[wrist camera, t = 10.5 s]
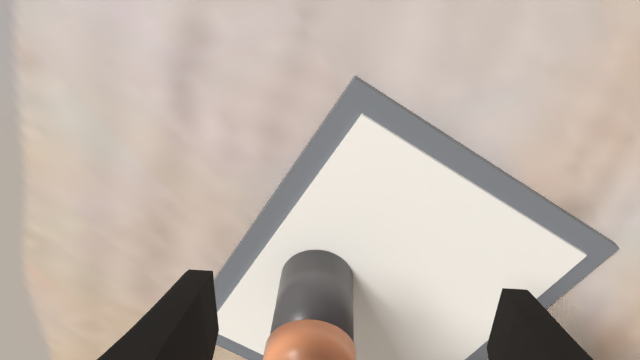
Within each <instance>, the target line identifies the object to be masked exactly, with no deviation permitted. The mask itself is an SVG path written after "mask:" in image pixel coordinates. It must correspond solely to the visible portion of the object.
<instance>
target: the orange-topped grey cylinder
mask: <svg viewBox="0 0 640 360" xmlns="http://www.w3.org/2000/svg"><path fill="white" fill-rule="evenodd" d="M263 360H356V347H355V345H354V312H353V273H352V270H351V268H350V266H349V265H348V263H347V262H346V261H345V260H344V259H342V258H341V257H340V256H338V255H336V254H334V253H332V252H329V251H325V250H307V251H303V252H300V253H297V254H295V255H294V256H292V257H291V258H290V259H289V260H288V261H287V262H286V263H285V265H284V267H283V269H282V273H281V278H280V283H279V289H278V294H277V300H276V305H275V310H274V316H273V321H272V326H271V332H270V336H269V337H268V339H267V341H266V345H265V350H264V355H263Z"/></svg>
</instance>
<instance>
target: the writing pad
mask: <svg viewBox="0 0 640 360" xmlns="http://www.w3.org/2000/svg"><path fill="white" fill-rule="evenodd" d="M618 249H619V248H618V246H617V245H616V244H615V243H614V242H613V241H611V240H610V239H608V238H607V237H605V236H603V235H602V234H600V233H599V232H597V231H596V230H594V229H593V228H591V227H589V226H588V225H586V224H585V223H583V222H582V221H580V220H579V219H577V218H575V217H574V216H572V215H571V214H569V213H568V212H566V211H565V210H563V209H561V208H560V207H558V206H557V205H555V204H554V203H552V202H551V201H549V200H548V199H546V198H544V197H543V196H541V195H540V194H538V193H537V192H535V191H534V190H532V189H530V188H529V187H527V186H526V185H524V184H523V183H521V182H520V181H518V180H516V179H515V178H513V177H512V176H510V175H509V174H507V173H506V172H504V171H503V170H501V169H499V168H498V167H496V166H495V165H493V164H492V163H490V162H489V161H487V160H485V159H484V158H482V157H481V156H479V155H478V154H476V153H475V152H473V151H471V150H470V149H468V148H467V147H465V146H464V145H462V144H461V143H459V142H457V141H456V140H454V139H453V138H451V137H450V136H448V135H447V134H445V133H444V132H442V131H440V130H439V129H437V128H436V127H434V126H433V125H431V124H430V123H428V122H426V121H425V120H423V119H422V118H420V117H419V116H417V115H416V114H414V113H412V112H411V111H409V110H408V109H406V108H405V107H403V106H402V105H400V104H399V103H397V102H395V101H394V100H392V99H391V98H389V97H388V96H386V95H385V94H383V93H381V92H380V91H378V90H377V89H375V88H374V87H372V86H371V85H369V84H367V83H366V82H364V81H363V80H361V79H360V78H358V77H357V76H355V77H354V78H353V79H352V81H351V82H350V84H349V85H348V87H347V88H346V90H345V91H344V93H343V94H342V95H341V97H340V98H339V100H338V101H337V103H336V104H335V106H334V107H333V108H332V110H331V111H330V113H329V114H328V116H327V117H326V119H325V120H324V122H323V123H322V124H321V126H320V127H319V129H318V130H317V132H316V133H315V135H314V136H313V137H312V139H311V140H310V142H309V143H308V145H307V146H306V148H305V149H304V151H303V152H302V153H301V155H300V156H299V158H298V159H297V161H296V162H295V164H294V165H293V166H292V168H291V169H290V171H289V172H288V174H287V175H286V177H285V178H284V180H283V181H282V182H281V184H280V185H279V187H278V188H277V190H276V191H275V193H274V194H273V195H272V197H271V198H270V200H269V201H268V203H267V204H266V206H265V207H264V209H263V210H262V211H261V213H260V214H259V216H258V217H257V219H256V220H255V222H254V223H253V224H252V226H251V227H250V229H249V230H248V232H247V233H246V235H245V236H244V238H243V239H242V240H241V242H240V243H239V245H238V246H237V248H236V249H235V251H234V252H233V253H232V255H231V256H230V258H229V259H228V261H227V262H226V264H225V265H224V267H223V268H222V269H221V271H220V272H219V274H218V275H217V277H216V278H215V280H214V289H215V298H216V307H217V316H218V326H219V332H218V337H217V341H216V345H218V346H220V347H222V348H224V349H227V350H229V351H231V352H233V353H235V354H237V355H240V356H242V357H244V358H246V359H248V360H263V355H264V350H265V345H266V341H267V339H268V337H269V336H270V332H271V326H272V321H273V316H274V310H275V305H276V300H277V294H278V289H279V283H280V278H281V273H282V269H283V267H284V265H285V263H286V262H287V261H288V260H289V259H290V258H291V257H292V256H294V255H295V254H297V253H300V252H303V251H307V250H325V251H329V252H332V253H334V254H336V255H338V256H340V257H341V258H342V259H344V260H345V261H346V262H347V263H348V265H349V266H350V268H351V270H352V273H353V312H354V345H355V347H356V360H485V359H486V358H488V353H487V343H488V340H489V336H490V332H491V329H492V325H493V321H494V317H495V314H496V310H497V306H498V303H499V299H500V295H501V291H502V288H507V289H524V290H528V291H529V292H530V293H531V294H532V295H533V296H534V297H535V298H536V299H537V300H538V301H539V302H540V304H541V305H542V306H543V307H544V308H545V309H547V308H548V307H549V306H550V305H552V304H553V303H554V302H555V301H556V300H558V299H559V298H560V297H561V296H562V295H564V294H565V293H566V292H567V291H568V290H570V289H571V288H572V287H573V286H574V285H576V284H577V283H578V282H579V281H580V280H582V279H583V278H584V277H585V276H587V275H588V274H589V273H590V272H591V271H593V270H594V269H595V268H596V267H597V266H599V265H600V264H601V263H602V262H603V261H605V260H606V259H607V258H608V257H609V256H611V255H612V254H613V253H614V252H615V251H617V250H618Z"/></svg>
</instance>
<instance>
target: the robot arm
mask: <svg viewBox="0 0 640 360" xmlns="http://www.w3.org/2000/svg"><path fill="white" fill-rule="evenodd" d="M218 332H219V326H218V316H217V307H216V298H215V289H214V279H213V271H203V270H188V271H187V272H185V273H184V274H183V276H182V277H181V278H180V279H179V280H178V281H177V282H176V283H175V284H174V285H173V286H172V287H171V288H170V289H169V291H168V292H167V293H166V294H165V295H164V296H163V297H162V298H161V299H160V300H159V301H158V302H157V303H156V304H155V305H154V306H153V307H152V308H151V309H150V310H149V311H148V312H147V313H146V314H145V315H144V316H143V317H142V318H141V319H140V320H139V321H138V322H137V323H136V324H135V325H134V326H133V327H132V328H131V329H130V330H129V331H128V332H127V333H126V334H125V335H124V336H123V337H122V338H120V339H119V340H118V341H117V342H116V343H115V344H114V345H113V346H112V347H111V348H109V349H108V350H107V351H106V352H105V353H104V354H103V355H102V356H101V357H99V358H98V359H97V360H212V358H213V354H214V350H215V346H216V341H217V337H218ZM487 353H488V359H489V360H593V359H592V358H591V357H590V356H589V355H588V354H587V353H586V352H585V351H584V350H583V349H582V348H581V347H580V346H579V345H578V344H577V343H576V342H575V341H574V339H573V338H572V337H571V336H570V335H569V334H568V333H567V332H566V331H565V330H564V329H563V328H562V327H561V326H560V324H559V323H558V322H557V321H556V320H555V319H554V318H553V317H552V316H551V315H550V314H549V312H548V311H547V310H546V309H545V308H544V307H543V306H542V305H541V304H540V302H539V301H538V300H537V299H536V298H535V297H534V296H533V295H532V294H531V293H530V292H529V291H528V290H524V289H507V288H502V291H501V295H500V299H499V303H498V306H497V310H496V314H495V317H494V321H493V325H492V329H491V332H490V336H489V340H488V343H487Z"/></svg>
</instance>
